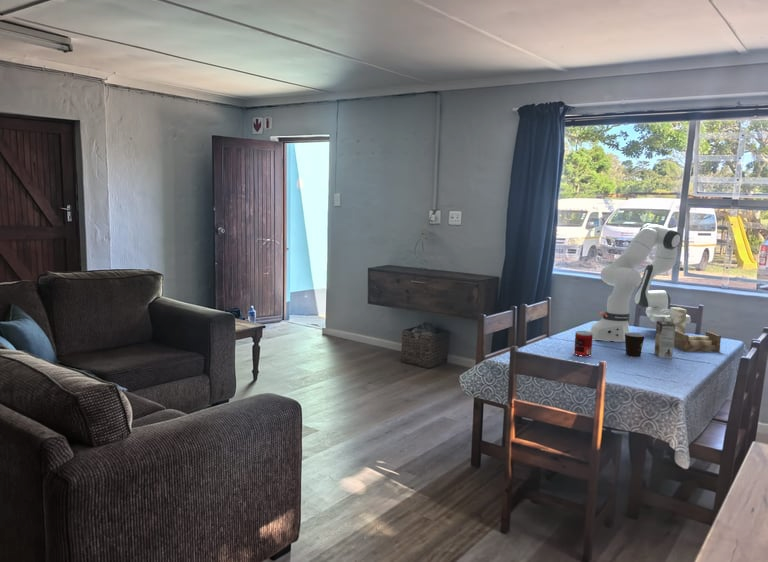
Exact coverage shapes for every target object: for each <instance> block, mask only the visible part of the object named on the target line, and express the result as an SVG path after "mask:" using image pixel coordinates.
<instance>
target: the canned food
mask: <svg viewBox="0 0 768 562" xmlns="http://www.w3.org/2000/svg"><path fill="white" fill-rule="evenodd" d="M574 336H575V337H574V352H573V353H574V355H575V354H577V355H582V356H589V355H591V356H592V348H593V347H592V345H593V340H592V336H593V333H592V332H590V331H588V330H577V331H575V335H574Z"/></svg>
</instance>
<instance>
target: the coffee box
mask: <svg viewBox="0 0 768 562" xmlns="http://www.w3.org/2000/svg"><path fill="white" fill-rule="evenodd" d="M655 327H656V330H655V339H654V340H655V342H654V354H655V355H656V356H657V358H659V359H673V357H674V336H675V325H674V324H673V323H672V322H667V321H657V322H656V326H655Z"/></svg>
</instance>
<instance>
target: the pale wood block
mask: <svg viewBox="0 0 768 562" xmlns="http://www.w3.org/2000/svg"><path fill="white" fill-rule="evenodd" d="M669 309H670V319H673V324H674V325H675V331H679V332H682V333H684V334H686V324H687V323H686V314H688V313H687V312H688V311H687V309H685V308H682V307H679V306H678V307H677V306H676V307H675V306H671V307H670V308H669Z"/></svg>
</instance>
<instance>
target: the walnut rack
mask: <svg viewBox="0 0 768 562" xmlns="http://www.w3.org/2000/svg"><path fill="white" fill-rule="evenodd" d="M689 336H690V335H689V334H686V333H685V334H684V333H682V332H679V331H675V336H674V346H675V348H676V347H677V349H678V350H680V351H683V350H684V351H683V352H696V351H720V352H721V341H722V340H721V339H722V336H721V335H720V334H717V333H714V332H712V331H706V332H705V336H708V337H709V340H710V341H712V345H688V338H689Z"/></svg>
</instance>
